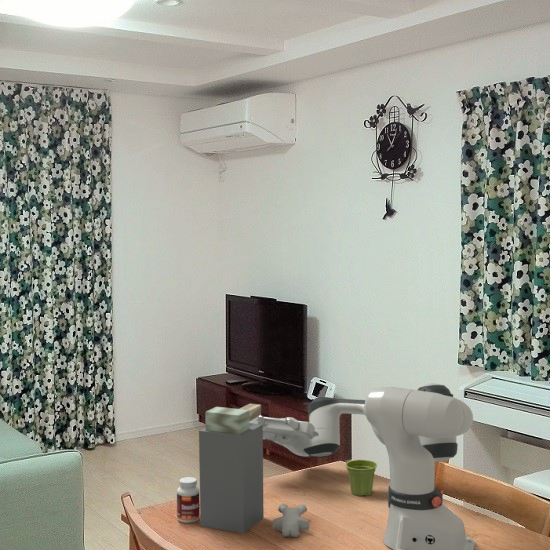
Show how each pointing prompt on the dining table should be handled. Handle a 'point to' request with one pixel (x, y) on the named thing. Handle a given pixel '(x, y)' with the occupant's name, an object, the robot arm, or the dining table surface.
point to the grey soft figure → (291, 520)
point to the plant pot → (361, 476)
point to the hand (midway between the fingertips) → (272, 419)
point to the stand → (231, 479)
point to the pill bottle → (188, 500)
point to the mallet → (231, 418)
